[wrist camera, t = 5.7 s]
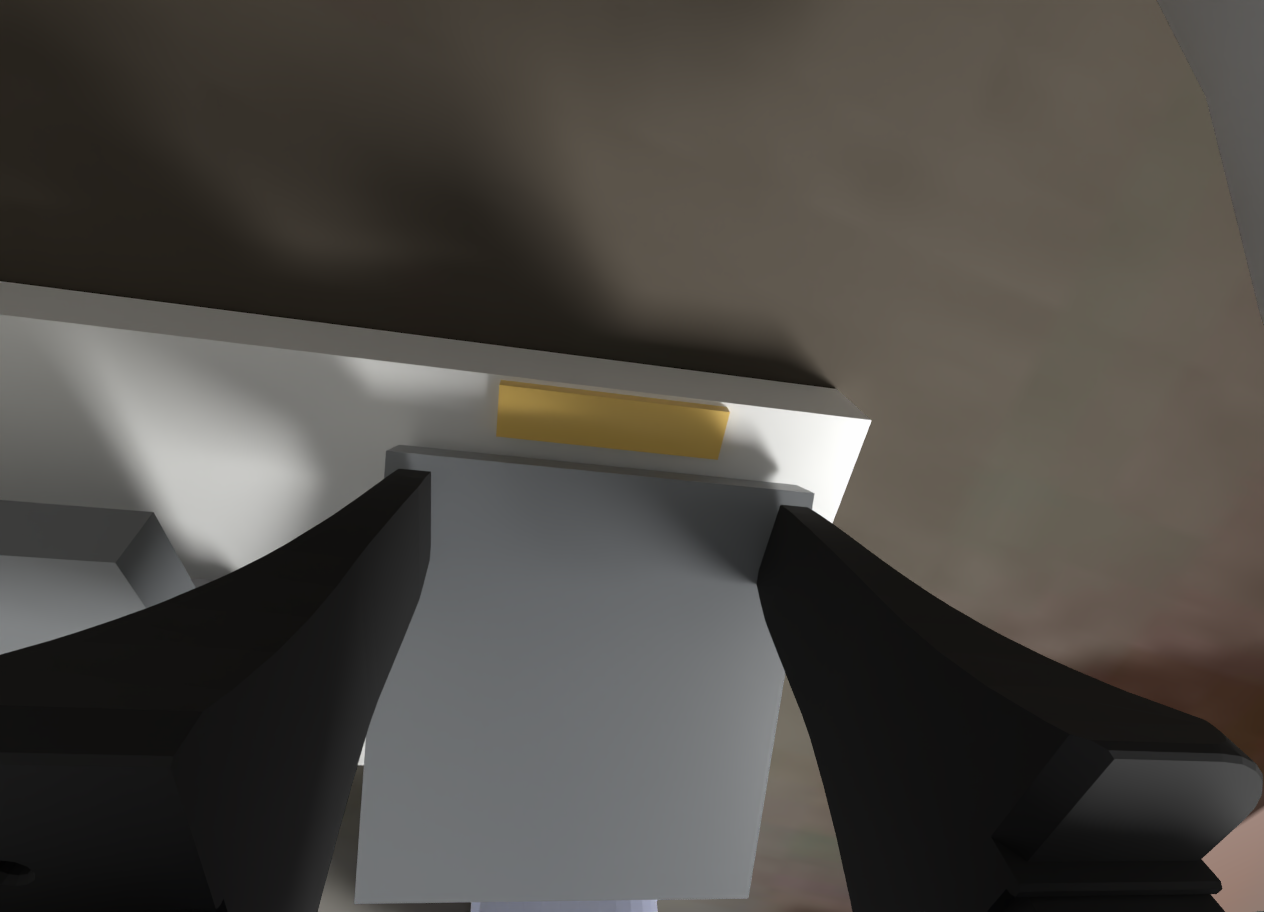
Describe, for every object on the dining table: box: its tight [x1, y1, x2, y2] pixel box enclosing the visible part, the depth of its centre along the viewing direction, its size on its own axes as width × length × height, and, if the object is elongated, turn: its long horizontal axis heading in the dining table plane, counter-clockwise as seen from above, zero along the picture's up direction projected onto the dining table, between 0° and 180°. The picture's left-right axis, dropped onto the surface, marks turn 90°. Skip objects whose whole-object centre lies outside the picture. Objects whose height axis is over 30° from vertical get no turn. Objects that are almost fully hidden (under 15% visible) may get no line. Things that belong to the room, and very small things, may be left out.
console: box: [0, 281, 872, 765], centre depth 15 cm, size 13×24×3 cm, turn 81°
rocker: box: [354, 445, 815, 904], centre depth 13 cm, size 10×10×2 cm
